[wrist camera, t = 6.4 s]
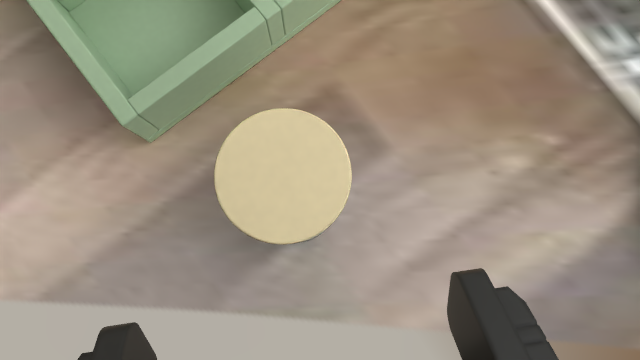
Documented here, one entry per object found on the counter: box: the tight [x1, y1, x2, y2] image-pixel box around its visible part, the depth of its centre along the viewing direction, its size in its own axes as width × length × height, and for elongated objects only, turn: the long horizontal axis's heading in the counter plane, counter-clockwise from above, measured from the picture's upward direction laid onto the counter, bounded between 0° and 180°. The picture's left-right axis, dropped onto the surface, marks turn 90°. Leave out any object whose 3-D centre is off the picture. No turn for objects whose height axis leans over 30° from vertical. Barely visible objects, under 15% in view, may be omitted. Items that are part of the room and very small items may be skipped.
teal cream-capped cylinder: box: [214, 108, 352, 244], centre depth 17 cm, size 4×4×8 cm
